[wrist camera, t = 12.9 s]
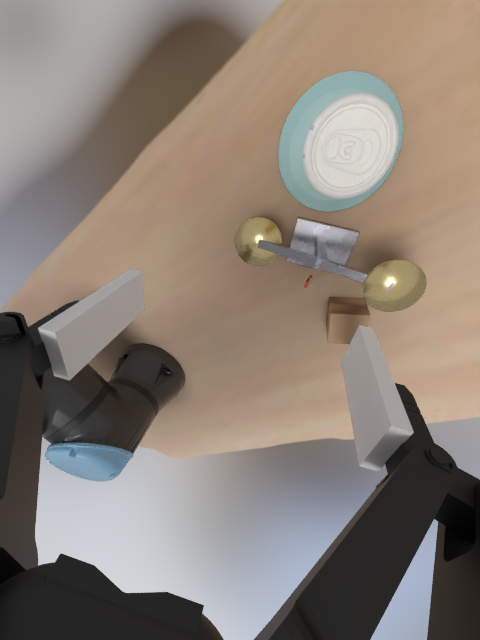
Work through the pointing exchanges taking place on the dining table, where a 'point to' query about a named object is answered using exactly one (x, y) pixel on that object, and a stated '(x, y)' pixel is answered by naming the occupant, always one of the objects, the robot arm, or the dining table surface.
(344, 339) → the walnut block
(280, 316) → the dining table surface
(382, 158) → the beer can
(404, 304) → the balance
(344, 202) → the dish
